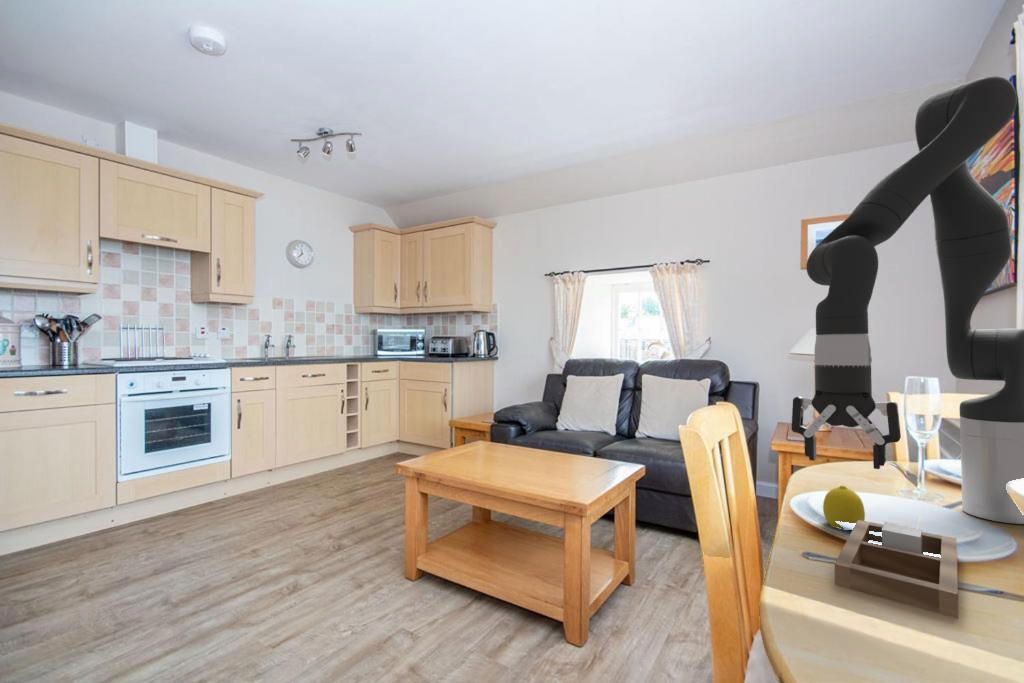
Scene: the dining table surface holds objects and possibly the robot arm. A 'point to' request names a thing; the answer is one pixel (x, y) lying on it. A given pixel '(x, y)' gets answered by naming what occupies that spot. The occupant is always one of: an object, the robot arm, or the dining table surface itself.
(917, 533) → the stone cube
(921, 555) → the wooden tray
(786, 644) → the dining table surface
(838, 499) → the lemon
